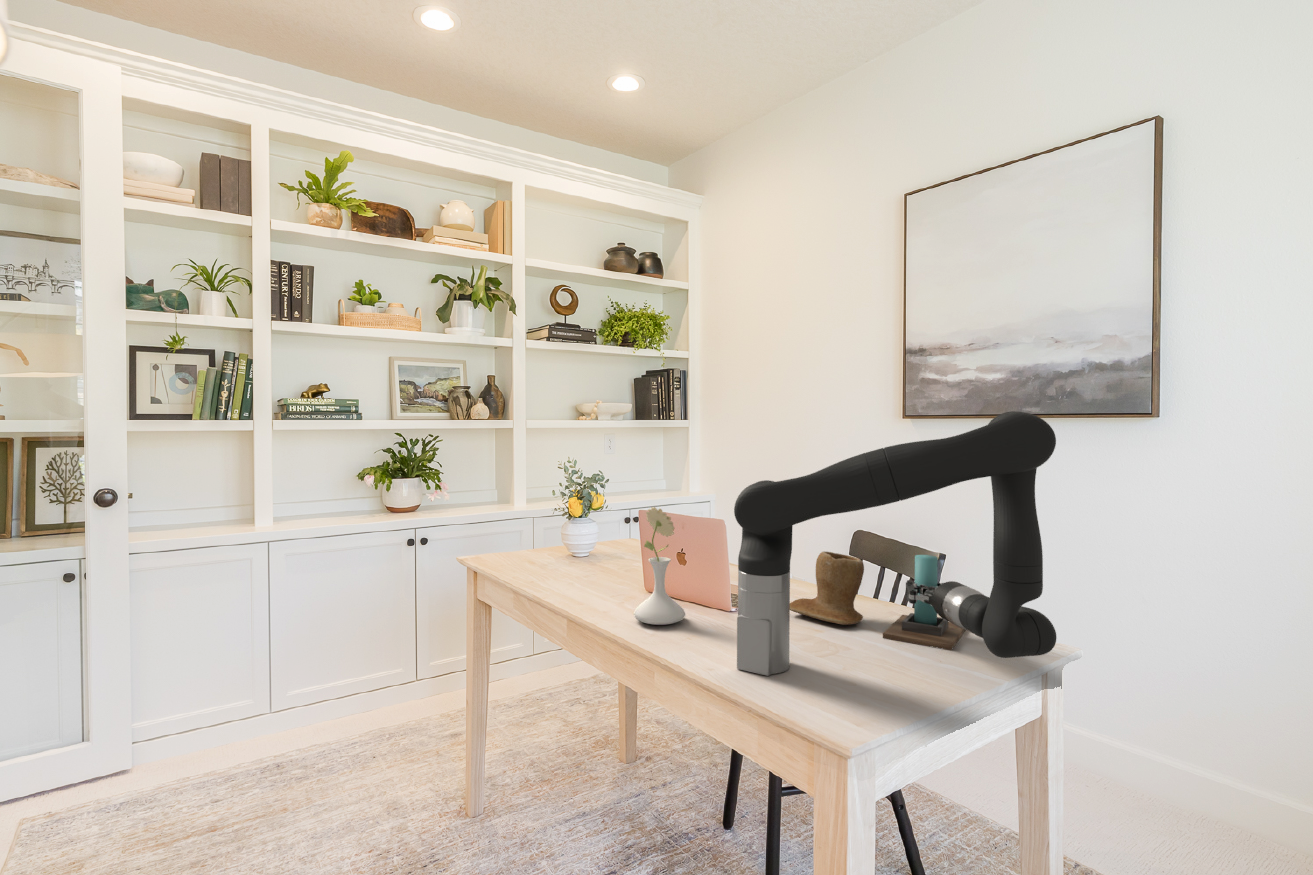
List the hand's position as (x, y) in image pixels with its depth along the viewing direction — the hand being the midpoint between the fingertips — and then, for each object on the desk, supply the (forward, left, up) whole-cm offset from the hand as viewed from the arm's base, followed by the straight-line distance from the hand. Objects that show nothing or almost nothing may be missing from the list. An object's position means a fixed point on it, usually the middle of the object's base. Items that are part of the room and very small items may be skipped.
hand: (919, 584), depth 141 cm
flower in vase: (-26, +49, -10) cm, 57 cm away
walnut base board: (-2, -2, -10) cm, 10 cm away
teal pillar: (-2, -2, -7) cm, 8 cm away
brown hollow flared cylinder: (-3, +18, -10) cm, 21 cm away
